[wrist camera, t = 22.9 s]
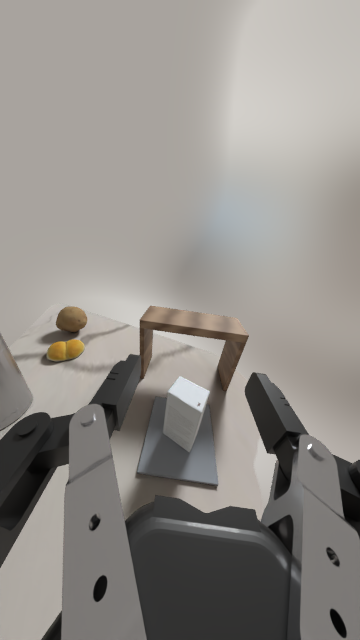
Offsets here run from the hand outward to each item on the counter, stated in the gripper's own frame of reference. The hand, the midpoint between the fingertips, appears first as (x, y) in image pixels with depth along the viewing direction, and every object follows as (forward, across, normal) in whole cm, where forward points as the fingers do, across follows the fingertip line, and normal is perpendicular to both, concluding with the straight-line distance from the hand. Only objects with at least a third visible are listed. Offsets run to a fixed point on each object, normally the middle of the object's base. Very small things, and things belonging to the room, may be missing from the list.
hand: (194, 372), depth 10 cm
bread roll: (+25, +35, +26) cm, 50 cm away
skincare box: (+8, -2, +25) cm, 26 cm away
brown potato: (+36, +40, +26) cm, 60 cm away
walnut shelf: (+24, -2, +25) cm, 35 cm away
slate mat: (+8, -2, +25) cm, 26 cm away
